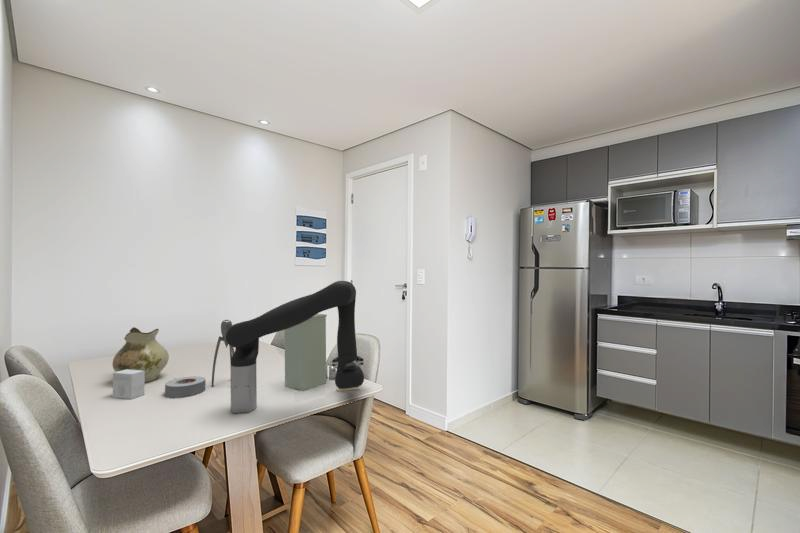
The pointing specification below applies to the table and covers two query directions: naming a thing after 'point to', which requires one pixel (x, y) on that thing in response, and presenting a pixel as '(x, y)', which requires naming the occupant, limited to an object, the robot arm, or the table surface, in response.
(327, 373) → the spacer
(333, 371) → the cylinder
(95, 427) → the table surface
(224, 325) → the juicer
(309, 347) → the tall sage green pillar
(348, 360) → the robot arm
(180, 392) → the tape roll
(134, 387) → the skincare box
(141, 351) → the green ceramic vase
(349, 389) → the mat
